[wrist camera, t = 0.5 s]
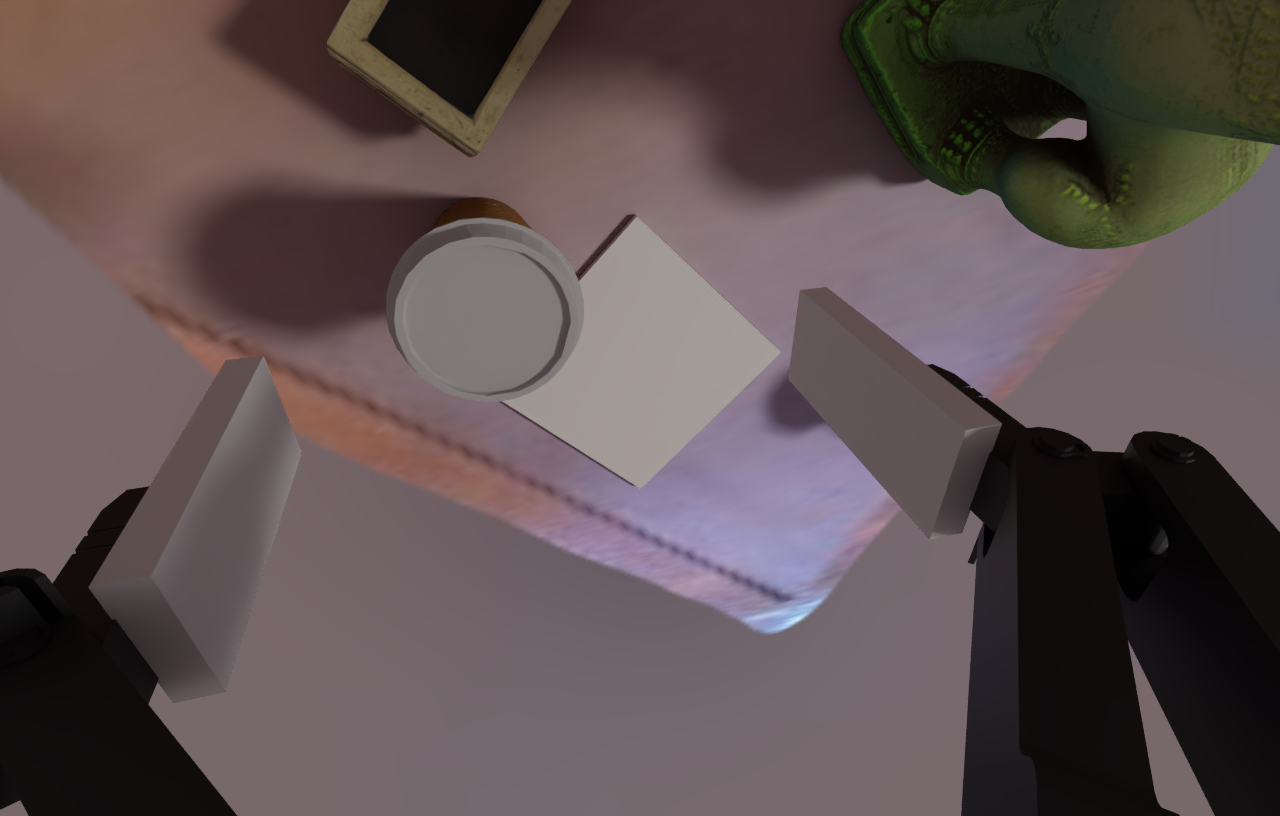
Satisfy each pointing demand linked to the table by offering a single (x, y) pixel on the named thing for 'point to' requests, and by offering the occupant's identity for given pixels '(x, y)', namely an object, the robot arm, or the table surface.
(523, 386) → the disposable coffee cup
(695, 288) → the felt mat
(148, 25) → the table surface
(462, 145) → the box
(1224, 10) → the lion statue
